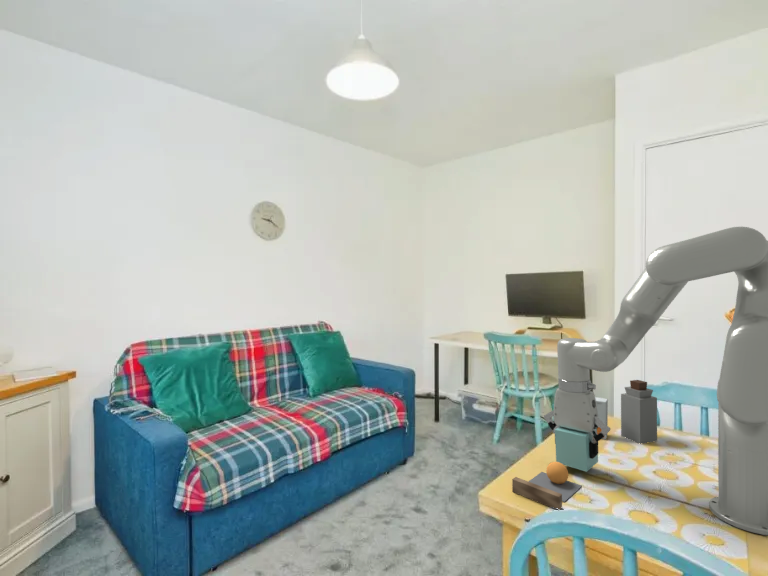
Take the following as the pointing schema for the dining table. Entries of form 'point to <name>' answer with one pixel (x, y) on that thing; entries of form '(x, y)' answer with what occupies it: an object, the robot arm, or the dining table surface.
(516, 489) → the stopper rail
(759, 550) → the dining table surface
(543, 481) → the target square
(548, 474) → the ball
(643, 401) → the perfume bottle
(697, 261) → the robot arm
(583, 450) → the teal tissue box
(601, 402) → the skincare box
